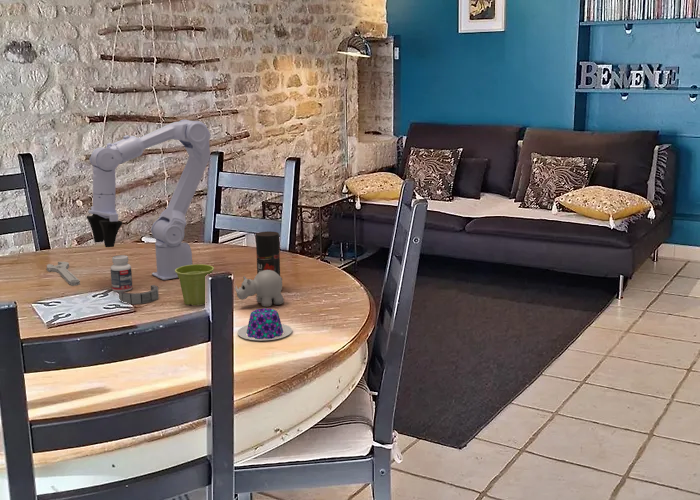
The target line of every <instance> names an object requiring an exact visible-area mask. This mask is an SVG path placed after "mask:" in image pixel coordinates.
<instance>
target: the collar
mask: <svg viewBox="0 0 700 500" xmlns="http://www.w3.org/2000/svg"><path fill="white" fill-rule="evenodd" d="M117 293H118V300H119V299H120V300H121V301H123V302H127V303H129V304H128V305H142V304H149V303H153V302H154V301H156V300H158V299H159V297H160V296H159V287H158V286H157V285H155V284H153V285H150V290H149V291H144V292H131V293H130V292H126V291H125V292H124V291H118V292H117Z"/></svg>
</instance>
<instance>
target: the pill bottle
mask: <svg viewBox="0 0 700 500" xmlns="http://www.w3.org/2000/svg"><path fill="white" fill-rule="evenodd" d="M111 259H112V262H111V263H112V265H111V266H110V280H111V290H112V291H113V292H115V291H116V292H117V293H119V292H118V291H124V292H125V293H126V292H129V291H131V290H132V289H133V275H132V273H133V272H132V265H131V264H129V256H128V255H126V254H125V255H124V254H121V255H115V256H112V258H111Z"/></svg>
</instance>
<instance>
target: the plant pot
mask: <svg viewBox="0 0 700 500" xmlns="http://www.w3.org/2000/svg"><path fill="white" fill-rule="evenodd" d="M214 268H215V267H214V266H212V265H210V264H203V263H199V264H192V265H186V266H182V267H179V268H177V269H175V272H176V273H177V275H178V278H177V279H178V280H179V284H180V290H181V295H182V299H183V303H184V304H185V305H187V306H189V305H192V306H202V305H205V304H204V303H205V276H206V275H207V274H210V273H212V274H213V271H214V270H215V269H214Z"/></svg>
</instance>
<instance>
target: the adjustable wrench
mask: <svg viewBox="0 0 700 500" xmlns="http://www.w3.org/2000/svg"><path fill="white" fill-rule="evenodd" d="M69 268H70V263H69V262H68V261H57V265H54V264H53V263H52V264H51V263H47V264H46V272H47V271H48V272H49V273H50V272H51V273H58V274H59V276H61V278H63V279H64V280H65V282H66V283H67V284H68V285H69V286H72V287H73V286H76V287H77V286H78V285H81V281H80V279H79V278H78V277H77V276H75V275H74V274H73V273H72V272H71V271H69ZM48 272H47V273H48Z"/></svg>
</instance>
